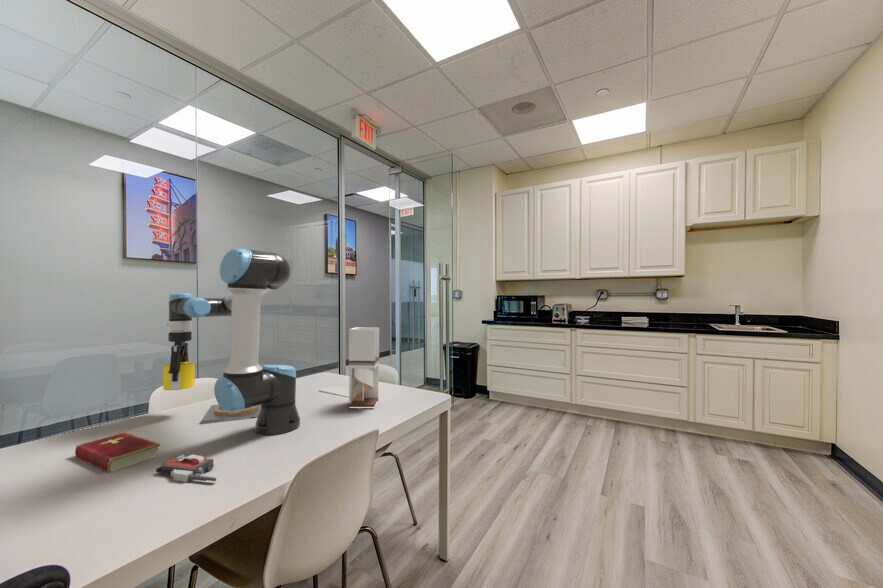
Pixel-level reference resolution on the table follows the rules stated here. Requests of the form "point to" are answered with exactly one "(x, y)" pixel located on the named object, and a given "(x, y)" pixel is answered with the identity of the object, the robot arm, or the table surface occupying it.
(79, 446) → the hardcover book
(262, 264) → the robot arm
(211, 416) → the ring collar plate
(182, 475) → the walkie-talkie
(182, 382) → the tape roll
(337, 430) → the table surface
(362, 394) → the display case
